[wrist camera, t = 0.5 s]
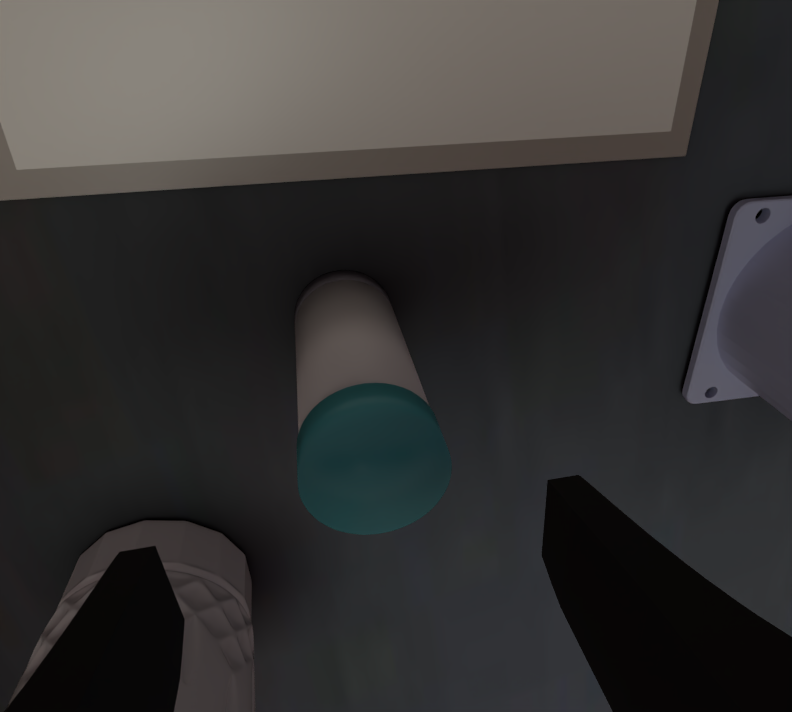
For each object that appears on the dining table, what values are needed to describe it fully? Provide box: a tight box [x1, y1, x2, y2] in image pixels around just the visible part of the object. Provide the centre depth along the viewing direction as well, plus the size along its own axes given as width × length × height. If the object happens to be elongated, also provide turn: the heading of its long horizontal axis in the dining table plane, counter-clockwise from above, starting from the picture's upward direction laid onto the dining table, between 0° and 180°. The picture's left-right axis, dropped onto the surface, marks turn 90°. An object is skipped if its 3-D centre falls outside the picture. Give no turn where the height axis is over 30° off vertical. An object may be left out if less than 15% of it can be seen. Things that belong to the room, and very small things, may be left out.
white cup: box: [7, 520, 255, 712], centre depth 20 cm, size 8×8×10 cm
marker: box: [294, 270, 452, 534], centre depth 16 cm, size 3×3×8 cm
